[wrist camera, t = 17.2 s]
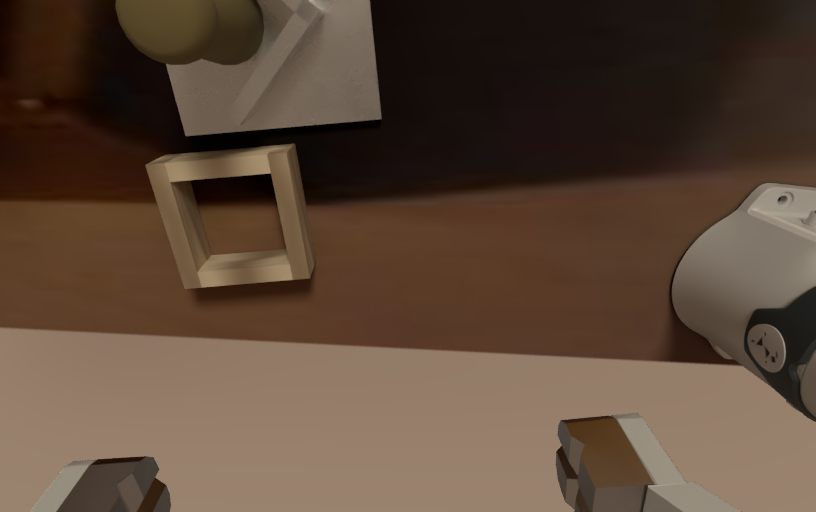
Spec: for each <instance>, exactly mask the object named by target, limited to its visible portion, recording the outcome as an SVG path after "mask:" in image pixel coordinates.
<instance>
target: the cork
mask: <svg viewBox="0 0 816 512" xmlns="http://www.w3.org/2000/svg"><path fill="white" fill-rule="evenodd" d="M116 11H117V15H118V19H119V23H120V25H121V27H122V29H123V30H124V32H125V34H126V36H127V38H128V39H129V40H130V41H131V42H132V43H133V44H134V46H135V47H136V48H137V49H138V50H139V51H141V52H143V53H144V54H146V55H147V56H149V57H150V58H152V59H154V60H156V61H159V62H162V63H165V64H169V65H186V64H190V63H192V62H195V61H198V60H200V59H203V60H207V61H210V62H214V63H218V64H221V65H237V64H240V63H243V62H245V61H248V60H249V59H250V58H251V57H252V56H253V55H254V54H255V53H256V52H257V50H258V48H259V47H260V45H261V43H262V39H263V33H264V22H263V14H262V12H261V9H260V7H259V4H258V2H257V0H116Z"/></svg>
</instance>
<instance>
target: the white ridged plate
mask: <svg viewBox="0 0 816 512" xmlns="http://www.w3.org/2000/svg"><path fill="white" fill-rule="evenodd" d="M257 2H258V4H259V7H260V9H261V12H262V14H263V22H264V33H263V39H262V43H261V45H260V47H259V48H258V50H257V52H256V53H255V54H254V55H253V56H252V57H251V58H250V59H249V60H248V61H245V62H243V63H240V64H237V65H221V64H218V63H214V62H210V61H207V60H203V59H200V60H198V61H195V62H192V63H190V64H186V65H169V64H166V66H167V70H168V73H169V77H170V81H171V84H172V88H173V91H174V95H175V99H176V102H177V106H178V110H179V113H180V117H181V121H182V124H183V128H184V131H185V135H186V136H194V135H206V134H217V133H229V132H240V131H252V130H263V129H275V128H286V127H298V126H309V125H321V124H332V123H344V122H355V121H367V120H378V119H381V118H382V117H381V107H380V97H379V87H378V77H377V67H376V57H375V47H374V37H373V27H372V17H371V7H370V0H257Z"/></svg>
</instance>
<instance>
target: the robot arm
mask: <svg viewBox="0 0 816 512" xmlns="http://www.w3.org/2000/svg"><path fill="white" fill-rule="evenodd" d="M780 197H781V199H780V200H779V201H778V199H779V198H780ZM672 301H673V306H674V309H675V311H676V313H677V315H678V317H679V318H680V320H681V321H682V322H683V323H684V324H685V325H686V326H687V327H688V328H690V329H691V330H693V331H695V332H697V333H698V334H700V335H702V336H703V337H705V338H706V339H708V341H709V343H710V344H711V346H712V348H713V349H714V350H715V351H716V352H717V353H718V354H719V355H721V356H722V357H723V358H725V359H734V360H736V361H737V362H738V363H740V364H741V365H742V366H744V367H745V368H747V369H748V370H749V371H751V372H752V373H753V374H754V375H756V376H757V377H759V378H760V379H761V380H763V381H764V382H765V383H767V384H768V385H770V386H771V387H772V388H774V389H775V390H776V391H777V392H778V393H779V394H780V395H781V396H783V397H784V398H785V399H786V402H787V403H789V404H790V405H791V406H792V407H793V408H795V409H796V410H798V411H800V412H802V413H803V414H804V415H805V416H806V417H808V418H810V419H811V420H813V421H815V422H816V188H812V187H803V186H794V185H785V184H776V183H766V184H763V185H761V186H759V187H758V188H756V189H755V190H754V191H753V192H752V193H751V194H750V195H749V196H748V197H747V198H746V199H745V201H744V202H743V203H742V204H741V205H740V207H739V208H738V209H737V210H736V211H734V212H733V213H732V214H730V215H729V216H728V217H726V218H724V219H723V220H721V221H720V222H718V223H716V224H715V225H714V226H712V227H711V228H709V229H708V230H707V231H706V232H704V233H703V234H702V235H701V236H700V237H699V238H698V239H697V240H696V241H695V242H694V243H693V244H692V245H691V247H690V248H689V249H688V251H687V252H686V253H685V255H684V257H683V258H682V260H681V262H680V264H679V266H678V268H677V270H676V273H675V276H674V280H673V285H672ZM558 437H559V440H560V442H561V444H562V446H561V447H560V448H559V449H558V450H557V452H556V468H557V475H558V481H559V484H560V488H561V491H562V494H563V497H564V500H565V502H566V503H567V504H569V505H570V506H571V507H572V508H573V509H575V512H742V511H740V510H738V509H737V508H735V507H734V506H732V505H731V504H729V503H727V502H726V501H724V500H723V499H721V498H720V497H718V496H716V495H715V494H713V493H711V492H710V491H708V490H707V489H705V488H704V487H702V486H701V485H699V484H697V483H696V482H686V481H685V479H684V478H683V476H682V475H681V473H680V472H679V471H678V469H677V468H676V466H675V465H674V463H673V462H672V460H671V459H670V457H669V456H668V454H667V453H666V451H665V450H664V449H663V447H662V446H661V444H660V443H659V441H658V440H657V438H656V437H655V435H654V434H653V432H652V431H651V429H650V428H649V426H648V425H647V424H646V422H645V421H644V419H643V418H642V416H640V415H639V414H637V413H632V414H622V415H611V416H601V417H590V418H580V419H570V420H561V421H560V423H559V426H558ZM158 471H159V468H158V466H157V464H156V462H155V460H154V458H153V457H129V458H112V459H98V460H87V461H73V462H72V463H70V464H68V465H67V466H65V467H64V468H63V469H62V470H61V472H60V473H59V474H58V476H57V477H56V478H55V479H54V481H53V482H52V483H51V485H50V486H49V487H48V488H47V490H46V491H45V492H44V493H43V495H42V496H41V497H40V499H39V500H38V501H37V503H36V504H35V505H34V506H33V508H32V509H31V510H30V512H170V507H171V502H170V494H169V491H168V489H167V486H166V485H165V484H164V483H162V482H161V481H159V480H158V479H156V478H155V477H156V475H157V473H158Z"/></svg>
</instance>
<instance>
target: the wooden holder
mask: <svg viewBox="0 0 816 512" xmlns="http://www.w3.org/2000/svg"><path fill="white" fill-rule="evenodd" d="M145 166H146V169H147V172H148V175H149V178H150V182H151V185H152V188H153V191H154V194H155V197H156V200H157V204H158V207H159V210H160V213H161V216H162V219H163V222H164V225H165V229H166V232H167V235H168V238H169V241H170V244H171V247H172V251H173V254H174V257H175V260H176V263H177V266H178V269H179V273H180V276H181V279H182V282H183V285H184V288H185V289H191V288H203V287H215V286H226V285H238V284H250V283H261V282H273V281H285V280H296V279H308V278H310V277H311V274H312V271H313V268H314V265H315V262H316V259H315V253H314V248H313V242H312V237H311V231H310V226H309V220H308V214H307V209H306V203H305V198H304V192H303V187H302V181H301V175H300V170H299V164H298V159H297V153H296V148H295V144H286V145H275V146H263V147H252V148H240V149H229V150H217V151H206V152H194V153H183V154H171V155H164V156H162V157H160V158H158V159H156V160H154V161H152V162H150V163H148V164H146V165H145ZM269 173H271V176H272V181H273V186H274V190H275V195H276V200H277V205H278V210H279V215H280V220H281V224H282V229H283V234H284V239H285V244H286V249H281V250H269V251H257V252H246V253H234V254H222V255H211V252H210V248H209V245H208V241H207V238H206V234H205V231H204V227H203V224H202V220H201V216H200V213H199V209H198V206H197V202H196V199H195V195H194V192H193V188H192V185H191V181H190V180H200V179H211V178H223V177H234V176H246V175H258V174H269Z"/></svg>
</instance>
